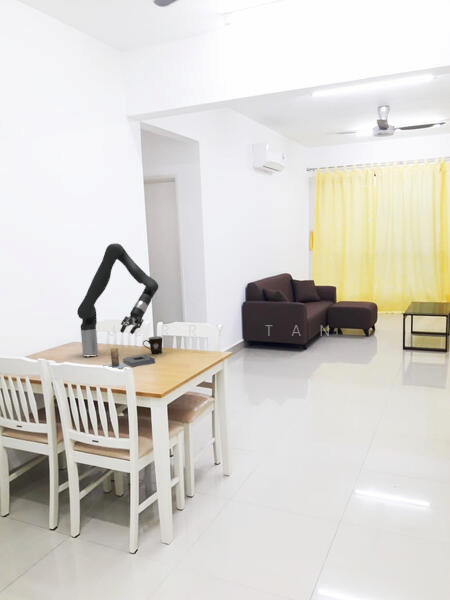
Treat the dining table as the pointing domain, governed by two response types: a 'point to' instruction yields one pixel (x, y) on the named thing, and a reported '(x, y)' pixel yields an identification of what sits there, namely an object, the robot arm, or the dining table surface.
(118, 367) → the slate pad
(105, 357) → the dining table surface
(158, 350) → the coffee mug
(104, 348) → the dining table surface
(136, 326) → the robot arm
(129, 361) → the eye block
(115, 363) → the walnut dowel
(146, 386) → the dining table surface
